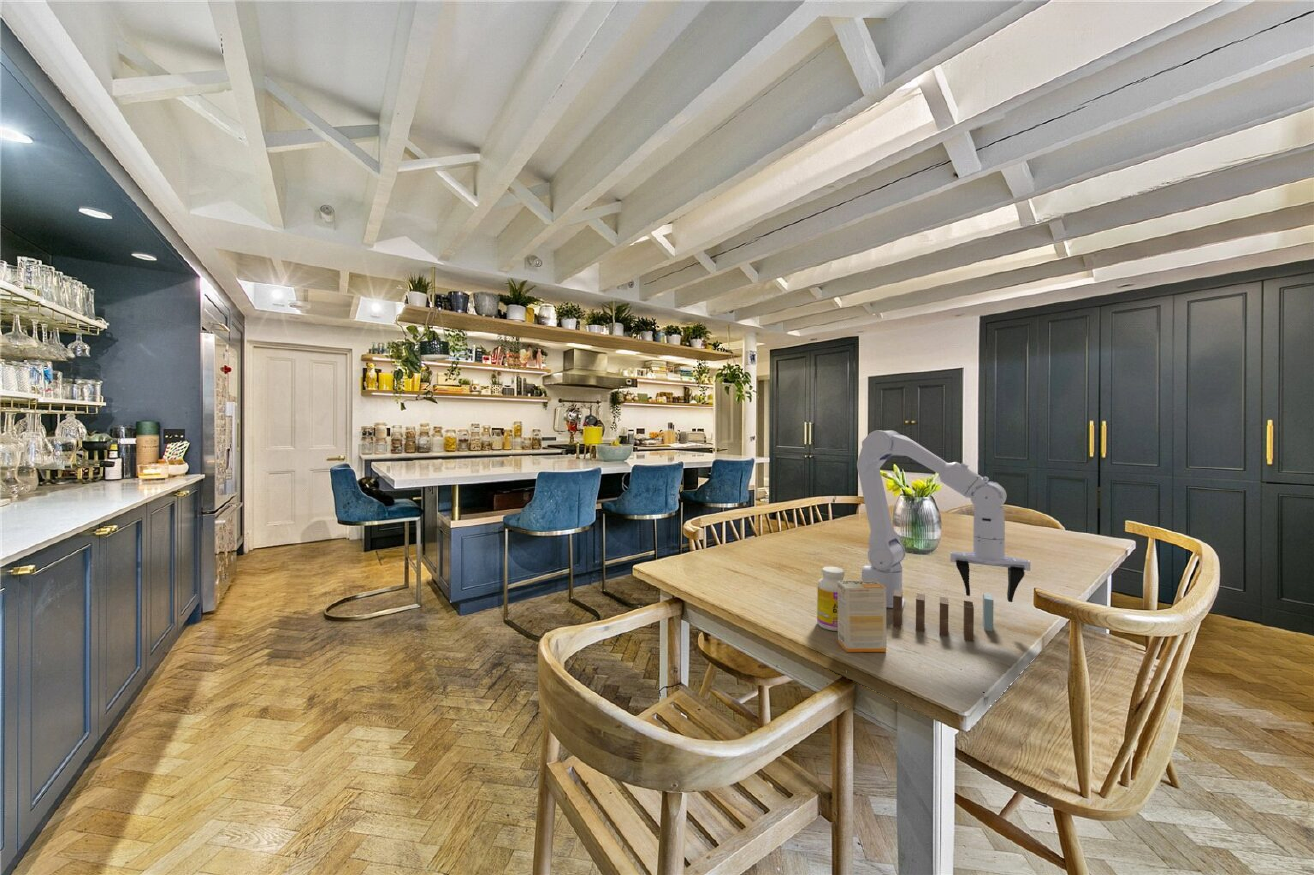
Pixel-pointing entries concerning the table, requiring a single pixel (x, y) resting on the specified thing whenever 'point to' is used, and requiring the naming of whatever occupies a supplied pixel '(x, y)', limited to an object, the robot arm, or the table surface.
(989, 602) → the teal domino
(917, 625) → the domino
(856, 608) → the supplement box
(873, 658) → the table surface
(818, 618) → the supplement bottle
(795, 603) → the table surface
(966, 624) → the domino
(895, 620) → the domino
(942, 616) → the domino
